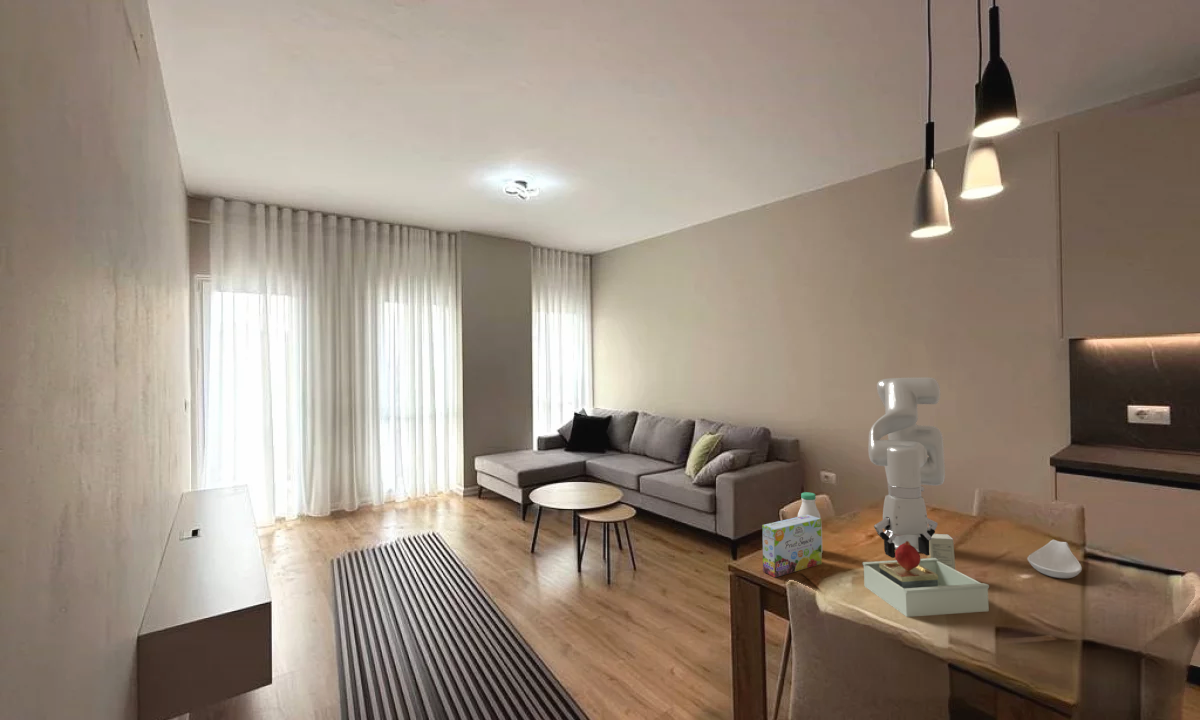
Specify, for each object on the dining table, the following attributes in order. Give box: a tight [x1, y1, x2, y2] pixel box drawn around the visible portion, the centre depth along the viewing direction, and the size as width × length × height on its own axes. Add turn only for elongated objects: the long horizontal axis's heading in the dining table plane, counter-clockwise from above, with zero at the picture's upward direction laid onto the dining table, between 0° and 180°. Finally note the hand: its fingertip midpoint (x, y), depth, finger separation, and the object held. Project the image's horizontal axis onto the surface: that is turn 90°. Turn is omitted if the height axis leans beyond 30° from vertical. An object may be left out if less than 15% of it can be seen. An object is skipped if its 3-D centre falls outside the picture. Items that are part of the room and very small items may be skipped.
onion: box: [894, 541, 922, 571], centre depth 130 cm, size 6×6×8 cm
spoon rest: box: [1027, 539, 1083, 579], centre depth 147 cm, size 24×12×7 cm, turn 131°
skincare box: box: [926, 533, 956, 570], centre depth 144 cm, size 6×4×12 cm
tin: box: [879, 562, 938, 589], centre depth 129 cm, size 10×9×8 cm
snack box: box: [761, 515, 823, 578], centre depth 153 cm, size 21×6×15 cm, turn 117°
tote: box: [862, 557, 990, 618], centre depth 130 cm, size 22×18×7 cm
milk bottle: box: [797, 491, 824, 553], centre depth 166 cm, size 8×8×20 cm
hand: (907, 554), depth 130 cm, fingers open, 9 cm apart
